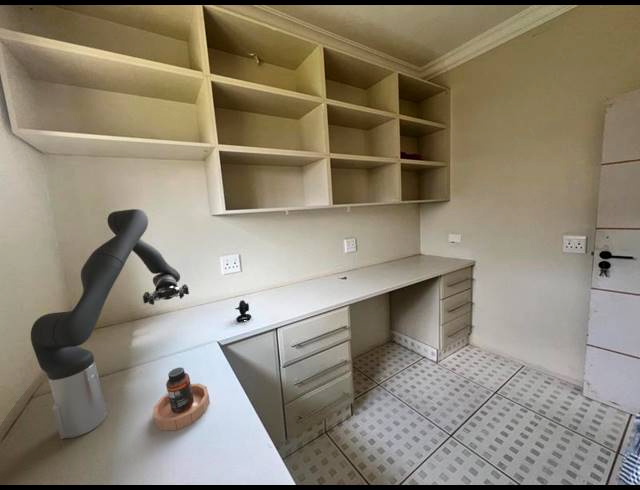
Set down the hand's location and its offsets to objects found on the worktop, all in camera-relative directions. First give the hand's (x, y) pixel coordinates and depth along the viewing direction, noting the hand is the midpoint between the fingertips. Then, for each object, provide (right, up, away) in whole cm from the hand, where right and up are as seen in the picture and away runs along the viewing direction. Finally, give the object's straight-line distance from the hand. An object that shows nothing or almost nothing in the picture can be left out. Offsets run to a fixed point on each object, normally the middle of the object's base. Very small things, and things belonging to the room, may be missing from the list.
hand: (166, 298), depth 89 cm
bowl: (+13, -30, -13) cm, 35 cm away
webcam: (+13, -20, +45) cm, 52 cm away
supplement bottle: (+13, -29, -13) cm, 34 cm away
